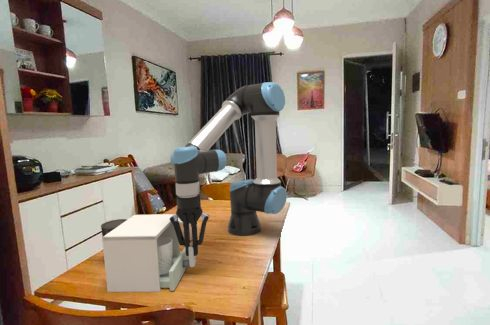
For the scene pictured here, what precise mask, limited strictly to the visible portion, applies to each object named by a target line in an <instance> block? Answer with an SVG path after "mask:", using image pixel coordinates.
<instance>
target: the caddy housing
mask: <svg viewBox="0 0 490 325" xmlns="http://www.w3.org/2000/svg"><path fill="white" fill-rule="evenodd" d="M175 214H176V213H164V214H163V213H157V214H156V213H155V214H133V215H132V216H130V217H129V218H127V219H128V220H126V221H125V222H123V223H122V224H121V225H119V226H118V227H116V228H115V229H114V230H112V231H111V232H109V233H108V234H106V235H105V236H104V237H101V239H102V240H101V241H102V251H103V259H104V261H103V262H104V267H105V268H104V270H105V280H106V290H107V293H113V292H114V293H129V292H130V293H136V292H137V293H141V292H142V293H146V292H147V293H149V292H150V293H151V292H152V293H153V292H161V291H162V290H161V289H162V288H160V276H159V263H158V251H157V238H161V237H167V238H171V239H172V246H173V254H180V253H181V250H180V249H181V248H180V244H179V242H178V238H177V235H176V232H175V229H174V226H173V224H172V222H171V221H170V217H171V216H173V215H175Z"/></svg>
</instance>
